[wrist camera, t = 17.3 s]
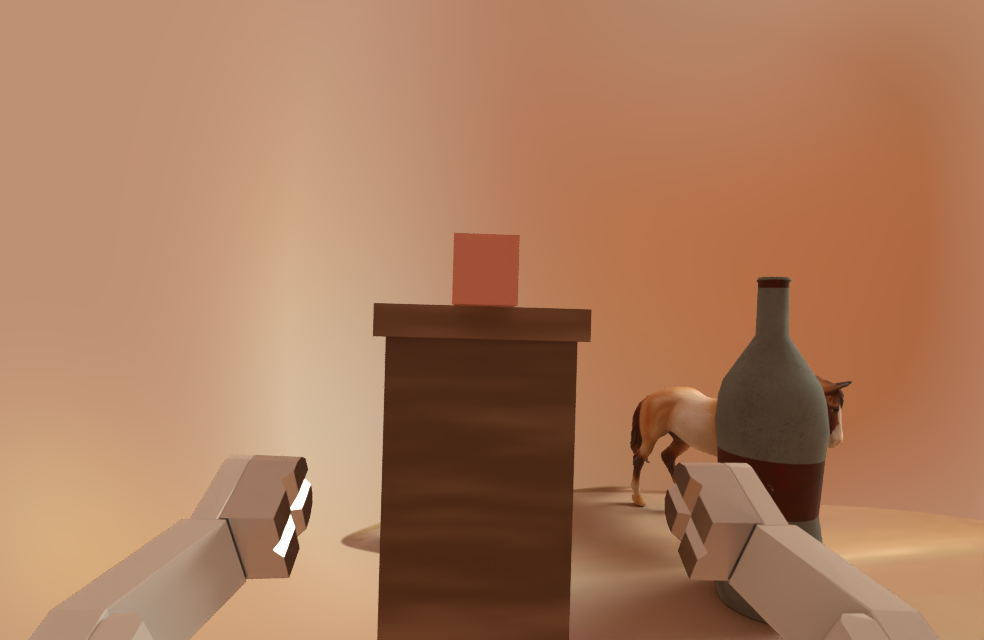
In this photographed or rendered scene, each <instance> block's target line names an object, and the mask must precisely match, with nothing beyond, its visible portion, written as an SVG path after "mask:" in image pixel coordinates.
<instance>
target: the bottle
mask: <svg viewBox="0 0 984 640" xmlns="http://www.w3.org/2000/svg"><path fill="white" fill-rule="evenodd" d="M790 281H791V280H790V278H788V277H762V278H759V279H758V280H757V282H758V299H757V320H756V336H755V337H754V338H753V339H752V341H751V342H750V344H749V345H748V346H747V348H746V349H745V350H744V352H743V353H742V354H741V356H740V357H739V358H738V360H737V361H736V362H735V364H734V365H733V366H732V368H731V369H730V371H729V372H728V373H727V375H726V376H725V377H724V379H723V381H722V384H721V387H720V390H719V393H718V399H717V406H716V412H715V430H716V440H717V456H718V463H747V464H748V465H750V466H751V467H752V468H753V470H754V471H755V473H756V475H757V476H758V478H759V479H760V481H761V482H762V484H763V485H764V487H765V488H766V490H767V492H768V493H769V495H770V496H771V498H772V499H773V501H774V502H775V504H776V505H777V507H778V509H779V510H780V512H781V513H782V515H783V516H784V518H785V519H786V521H787V522H788V524H789V525H796V526H798V527H799V528H801V529H802V530H804V531H805V532H806V533H808V534H809V535H811V536H812V537H814V538H815V539H816V540H818V541H819V542H821V543H822V537H821V530H820V523H819V508H820V500H821V491H822V482H823V473H824V466H825V458H826V452H827V446H828V440H829V434H830V428H829V418H828V409H827V402H826V398H825V395H824V391H823V388H822V386H821V384H820V383H819V381H818V380H817V378H816V376H815V375H814V374H813V372H812V371H811V369H810V368H809V366H808V365H807V363H806V362H805V360H804V358H803V357H802V356H801V354H800V352H799V351H798V349H797V348H796V346H795V345H794V343H793V342H792V340H791V339H790V337H789V283H790ZM714 581H715V585H716V589H717V592H718V594H719V596H720V598H721V599H722V600H723V601H724V602H725V603H726V604H727V605H728V606H729V607H730V608H732V609H734V610H735V611H737V612H738V613H740V614H742V615H744V616H747V617H749V618H751V619H754V620H756V621H760V622H763V623H767V622H766V621H765V620H764V619H763V618H762V617H761V616H760V615H759V614H758V613H757V612H756V611H755V610H754V608H753V607H752V606H751V605H750V604H749V603H748V602H747V601H746V600H745V599H744V598H743V597H742V596H741V595H740V594H739V593H738V592H737V591H736V590H735V589H734V588H733V587H732V586H731V585H730V584H729V581H717V580H714ZM767 624H768V623H767Z"/></svg>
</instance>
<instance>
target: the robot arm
mask: <svg viewBox="0 0 984 640" xmlns="http://www.w3.org/2000/svg"><path fill="white" fill-rule="evenodd" d="M307 471H308V468H307V463H306V459H305V458H303V457H288V456H264V455H255V456H254V455H253V456H251V455H231V456H230V457H228V458H227V459H226V460H225V461H224V462H223V464H222V466H221V467H220V469H219V471H218V472H217V474H216V476H215V478H214V479H213V481H212V482H211V484H210V486H209V487H208V489H207V491H206V493H205V494H204V496H203V497H202V499H201V501H200V502H199V504H198V506H197V508H196V509H195V511H194V513H193V514H192V516H191V518H190V519H181V520H180V521H179V522H177V523H176V524H174V525H173V526H172V527H170V528H168V529H167V530H166V531H164V532H163V533H161V534H160V535H158V536H157V537H155V538H154V539H153V540H152V541H150V542H148V543H147V544H146V545H144V546H142V547H141V548H140V549H138V550H137V551H136V552H134V553H133V554H131V555H130V556H128V557H127V558H125V559H124V560H122V561H121V562H119V563H118V564H117V565H115V566H114V567H112V568H111V569H109V570H108V571H106V572H105V573H104V574H102V575H101V576H99V577H98V578H96V579H95V580H94V581H92V582H91V583H89V584H88V585H86V586H85V587H83V588H82V589H81V590H79V591H78V592H76V593H75V594H73V595H72V596H70V597H69V598H67V599H66V600H65V601H63V602H62V603H60V604H59V605H58V606H56V607H55V608H53V609H52V610H50V611H49V613H48V614H47V616H46V617H45V618H44V620H43V621H42V622H41V624H40V625H39V626H38V628H37V629H36V630H35V632H34V633H33V634H32V636H31V637H30V638H29V640H190V639H191V638H192V637H193V636H194V635H195V634H196V632H197V631H198V630H199V629H200V628H201V627H202V626H203V625H204V624H205V623H206V622H207V621H208V620H209V619H210V618H211V617H212V616H213V615H214V614H215V613H216V612H217V611H218V610H219V609H220V608H221V607H222V606H223V605H224V604H225V603H226V602H227V601H228V600H229V599H230V598H231V597H232V596H233V594H234V593H235V592H236V591H237V590H238V589H239V588H240V587H241V586H242V585H243V584H244V583H245V582H246V579H262V578H289V577H290V574H291V571H292V568H293V565H294V562H295V559H296V557H297V554H298V551H299V544H298V539H297V536H299V535H300V534H301V533H302V532H303V531H304V530H306V528H307V525H308V522H309V518H310V514H311V507H312V488H311V484H310V483H309V482H308V481H307V480H305V476H306V473H307ZM672 475H673V477H674V480H675V482H676V483H675V484H673V485H672V486H671V487H670V488H668V490H667V493H666V497H665V515H666V520H667V523H668V526H669V529H670V531H671V533H672V534H673V535H675V536H676V537H677V538H678V539H679V540H680V541H681V544H680V547H679V550H678V552H679V554H680V557H681V559H682V562H683V564H684V567H685V569H686V572H687V574H688V577H689V579H690V580H717V581H729V584H730V585H731V586H732V587H733V588H734V589H735V590H736V591H737V592H738V593H739V594H740V595H741V596H742V597H743V598H744V599H745V600H746V601H747V602H748V603H749V604H750V605H751V606H752V607H753V608H754V610H755V611H756V612H757V613H758V614H759V615H760V616H761V617H762V618H763V619H764V620H765V621H766V622H767V623H768V624H769V625H770V626H771V627H772V628H773V629H774V630H775V631H776V632H777V633H778V634H779V635H780V636H781V637H782V638H783V639H784V640H941V639H940V638H939V637H938V635H937V634H936V633H935V632H934V630H933V629H932V628H931V626H930V625H929V624H928V622H927V621H926V620H925V618H924V617H923V616H922V615H921V613H920V612H919V611H917V610H916V609H915V608H913V607H912V606H910V605H909V604H907V603H906V602H905V601H903V600H902V599H900V598H899V597H897V596H896V595H895V594H893V593H892V592H890V591H889V590H887V589H886V588H885V587H883V586H882V585H880V584H879V583H878V582H876V581H875V580H873V579H872V578H870V577H869V576H868V575H866V574H865V573H863V572H862V571H860V570H859V569H858V568H856V567H855V566H853V565H852V564H851V563H849V562H848V561H846V560H845V559H843V558H842V557H841V556H839V555H838V554H836V553H835V552H833V551H832V550H831V549H829V548H828V547H826V546H825V545H823V544H822V543H821V542H819V541H818V540H816V539H815V538H814V537H812V536H811V535H809V534H808V533H806V532H805V531H804V530H802V529H801V528H799V527H798V526H796V525H789V524H788V522H787V521H786V519H785V518H784V516H783V515H782V513H781V512H780V510H779V509H778V507H777V505H776V504H775V502H774V501H773V499H772V498H771V496H770V495H769V493H768V492H767V490H766V488H765V487H764V485H763V484H762V482H761V481H760V479H759V478H758V476H757V475H756V473H755V471H754V470H753V468H752V467H751V466H750V465H748V464H747V463H678V464H677V465H676V466H675V469H674V471H673V474H672Z"/></svg>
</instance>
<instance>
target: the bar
mask: <svg viewBox="0 0 984 640" xmlns="http://www.w3.org/2000/svg"><path fill="white" fill-rule="evenodd" d="M518 270H519V235H496V234H495V235H494V234H467V233H454V260H453V293H452V294H453V295H452V304H453V305H455V306H487V307H514V306H517V304H518Z"/></svg>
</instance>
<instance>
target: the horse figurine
mask: <svg viewBox="0 0 984 640" xmlns="http://www.w3.org/2000/svg"><path fill="white" fill-rule="evenodd" d="M815 376H816V375H815ZM816 378H817V380H818V381H819V383H820V384H821V386H822V388H823V391H824V395H825V398H826V402H827V409H828V418H829V428H830V434H829V440H828V446H827V447H829V448H835V447H836V446H838V445H840V444H841V443H842V441H843V433H842V427H841V410H842V406H843V401H844V400H843V397H844V395H843V393H842V391H841V388H843V387H846V386H848V385H849V384H850V383H852V382H851V381H848V382H842V383H831V382H829V381H826V380H823V379H822V378H820V377H819V376H816ZM716 406H717V399H713V398H708V397H706V396H705V395H703V394H702V393H700V392H699V391H697V390H696V389H693V388H690V387H669V388H665V389H662V390H659V391H657V392H655V393H653V394H651V395H649V396H647V397H646V398H645V399H644V400H642V401H641V402H640V403H639V405H638V406H637V408H636V410H635V412H634V415H633V422H632V432H631V442H630V444H631V449H632V451H633V453H634V454H635V455H634V456H633V465H634V471H633V479H632V483H631V487H632V489H633V491H634V494H633V495H632V499H633V501H634V503H635V504H636V505H639V506H644V505H646V501H645V499H644V497H643V495H642V493H641V492H640V487H639V477H640V471H641V468H642V466H643V464H644V461H646V462H647V463H649V461H648V456H649V455H650V454H651V452H652V450H653V448H654V445H655V443H656V442H657V440H658V439H659V438H660V437H662V436H664V435H666V434H667V433H669V434H670V435H671V436H672V438H673V442H672V443H671V444H670V446H668V447H667V448H666V449H665V450H664V451H663V452H662V453H661V458H662V460H663V462H664V463H665V465H666V467H667V468H668V470H669V472H670V474H671V476H672V479H673V482H674V484H675V483H676V482H675V480H674V477H673V475H672V474H673V471H674V469H675V459H676V458H677V457H678V456H679V455H681V454H682V453H684V452H685V451H686V450H688V448H689V447H690V446H692V447H694V448H696V449H698V450H700V451H702V452H705V453H708V454H711V455H714V456H717V440H716V430H715V412H716ZM717 457H718V456H717Z"/></svg>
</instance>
